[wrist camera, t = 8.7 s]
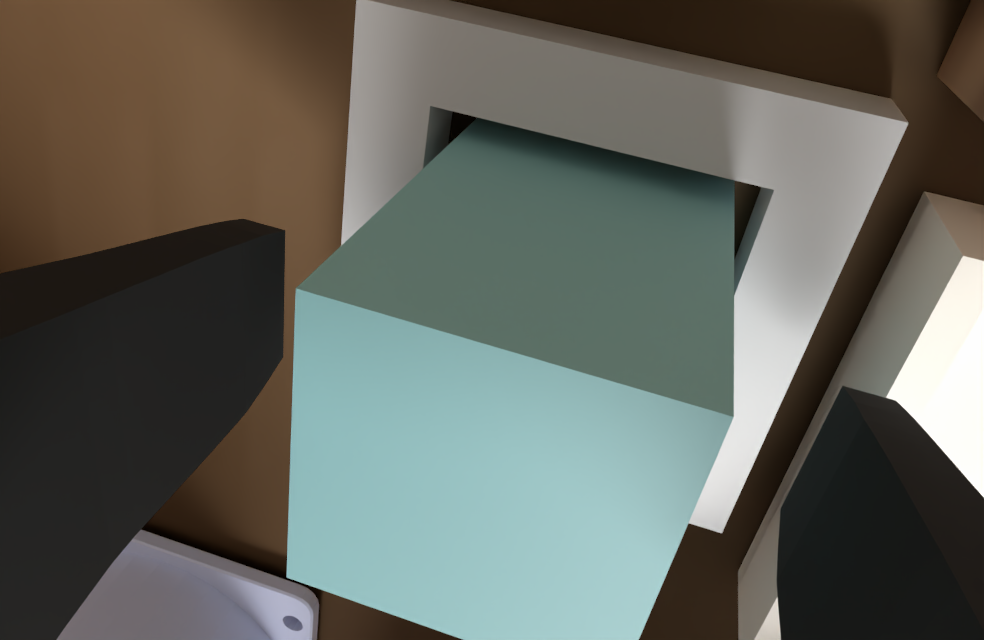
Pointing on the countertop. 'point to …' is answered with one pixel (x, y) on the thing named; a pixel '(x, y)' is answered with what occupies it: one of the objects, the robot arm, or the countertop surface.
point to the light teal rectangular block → (514, 389)
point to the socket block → (647, 134)
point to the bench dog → (967, 60)
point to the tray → (901, 370)
